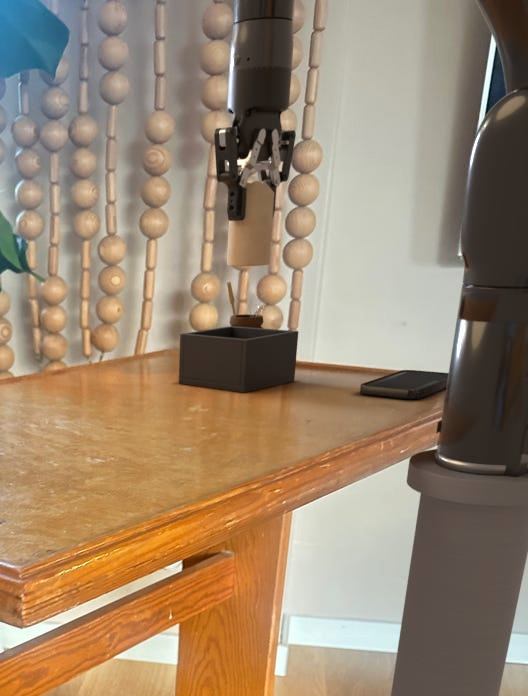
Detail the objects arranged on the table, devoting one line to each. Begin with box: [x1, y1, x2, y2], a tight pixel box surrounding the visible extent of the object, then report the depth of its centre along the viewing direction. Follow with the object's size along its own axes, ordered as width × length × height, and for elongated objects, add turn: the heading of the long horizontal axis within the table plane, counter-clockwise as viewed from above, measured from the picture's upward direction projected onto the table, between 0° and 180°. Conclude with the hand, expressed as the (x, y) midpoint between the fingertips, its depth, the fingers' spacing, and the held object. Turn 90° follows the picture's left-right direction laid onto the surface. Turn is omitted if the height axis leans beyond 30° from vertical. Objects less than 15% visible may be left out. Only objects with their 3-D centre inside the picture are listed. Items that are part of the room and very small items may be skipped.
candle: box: [226, 180, 274, 267], centre depth 119 cm, size 6×6×10 cm
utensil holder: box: [226, 281, 268, 329], centre depth 146 cm, size 6×6×12 cm
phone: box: [359, 369, 449, 400], centre depth 122 cm, size 8×1×15 cm
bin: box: [178, 325, 299, 394], centre depth 130 cm, size 12×12×7 cm
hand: (250, 219), depth 119 cm, fingers closed on candle, 5 cm apart
